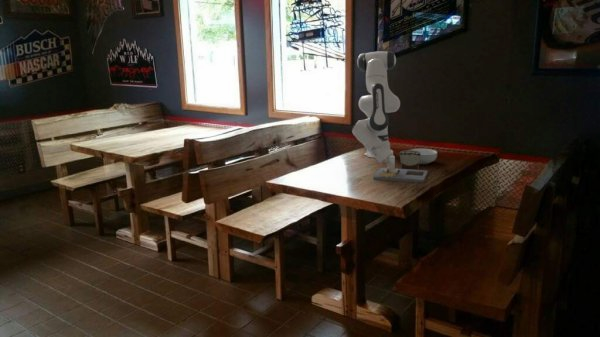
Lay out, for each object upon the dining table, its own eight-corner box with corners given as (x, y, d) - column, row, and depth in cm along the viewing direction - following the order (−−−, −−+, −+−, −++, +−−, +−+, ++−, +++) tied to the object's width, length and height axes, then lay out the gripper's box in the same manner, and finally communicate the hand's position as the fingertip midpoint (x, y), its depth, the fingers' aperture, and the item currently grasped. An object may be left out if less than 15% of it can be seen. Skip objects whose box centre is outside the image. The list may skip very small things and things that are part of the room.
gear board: (381, 170, 280) (381, 161, 279) (427, 173, 271) (428, 164, 270) (373, 179, 262) (373, 170, 261) (423, 182, 253) (423, 173, 252)
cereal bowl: (406, 165, 290) (406, 153, 288) (409, 159, 305) (409, 148, 304) (436, 166, 285) (436, 154, 283) (437, 160, 300) (437, 149, 299)
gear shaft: (385, 170, 276) (385, 154, 273) (398, 171, 273) (399, 155, 271) (382, 173, 269) (383, 157, 267) (396, 174, 266) (396, 158, 264)
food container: (421, 167, 285) (421, 150, 282) (420, 169, 279) (421, 152, 276) (399, 166, 288) (399, 149, 285) (398, 169, 282) (399, 152, 280)
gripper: (374, 145, 260) (392, 164, 259) (382, 138, 278) (399, 156, 277) (366, 153, 262) (384, 172, 261) (374, 145, 281) (391, 163, 280)
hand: (392, 163), depth 269 cm, fingers closed on gear shaft, 4 cm apart
